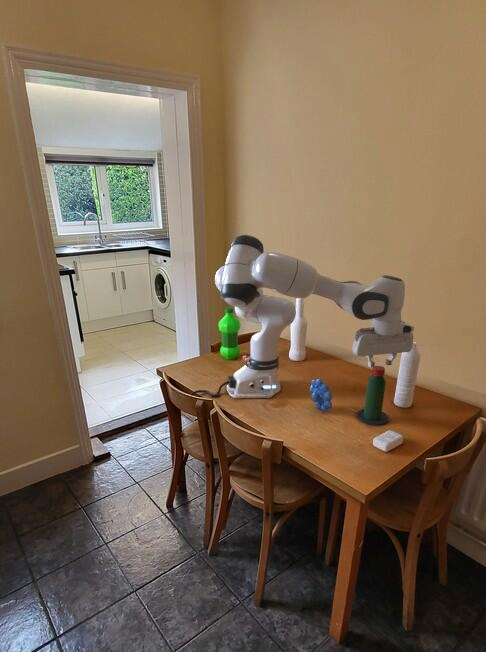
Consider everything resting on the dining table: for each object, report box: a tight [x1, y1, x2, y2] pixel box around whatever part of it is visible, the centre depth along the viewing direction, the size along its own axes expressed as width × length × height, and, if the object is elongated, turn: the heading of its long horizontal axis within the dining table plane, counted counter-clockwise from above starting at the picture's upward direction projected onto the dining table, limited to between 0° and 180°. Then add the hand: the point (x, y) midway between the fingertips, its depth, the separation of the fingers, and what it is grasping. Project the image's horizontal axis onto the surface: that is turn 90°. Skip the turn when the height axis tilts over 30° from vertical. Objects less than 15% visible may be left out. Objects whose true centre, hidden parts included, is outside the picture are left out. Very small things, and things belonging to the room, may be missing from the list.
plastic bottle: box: [217, 306, 241, 360], centre depth 199 cm, size 10×10×25 cm
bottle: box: [288, 298, 308, 362], centre depth 196 cm, size 8×8×30 cm
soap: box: [372, 429, 404, 453], centre depth 132 cm, size 9×6×3 cm, turn 126°
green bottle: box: [363, 374, 387, 420], centre depth 144 cm, size 6×6×18 cm
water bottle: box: [393, 341, 421, 409], centre depth 153 cm, size 9×6×25 cm
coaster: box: [356, 408, 389, 426], centre depth 148 cm, size 11×11×1 cm
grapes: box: [309, 378, 333, 413], centre depth 152 cm, size 12×7×12 cm, turn 30°
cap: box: [371, 365, 386, 376], centre depth 141 cm, size 4×4×2 cm
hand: (379, 365), depth 140 cm, fingers open, 5 cm apart
